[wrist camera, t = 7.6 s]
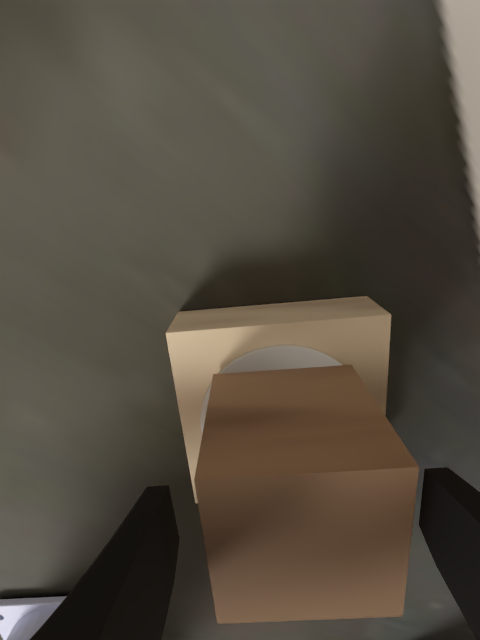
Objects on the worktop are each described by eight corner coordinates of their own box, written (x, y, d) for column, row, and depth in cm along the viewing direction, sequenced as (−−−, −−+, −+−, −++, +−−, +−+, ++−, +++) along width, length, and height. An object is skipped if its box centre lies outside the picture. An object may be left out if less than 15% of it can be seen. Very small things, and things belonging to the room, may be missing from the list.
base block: (362, 451, 17) (383, 497, 14) (202, 461, 17) (194, 509, 15) (366, 295, 14) (395, 317, 12) (178, 311, 15) (163, 336, 12)
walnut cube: (348, 474, 14) (402, 616, 9) (226, 481, 14) (217, 624, 9) (351, 364, 12) (419, 467, 7) (213, 373, 12) (194, 480, 8)
